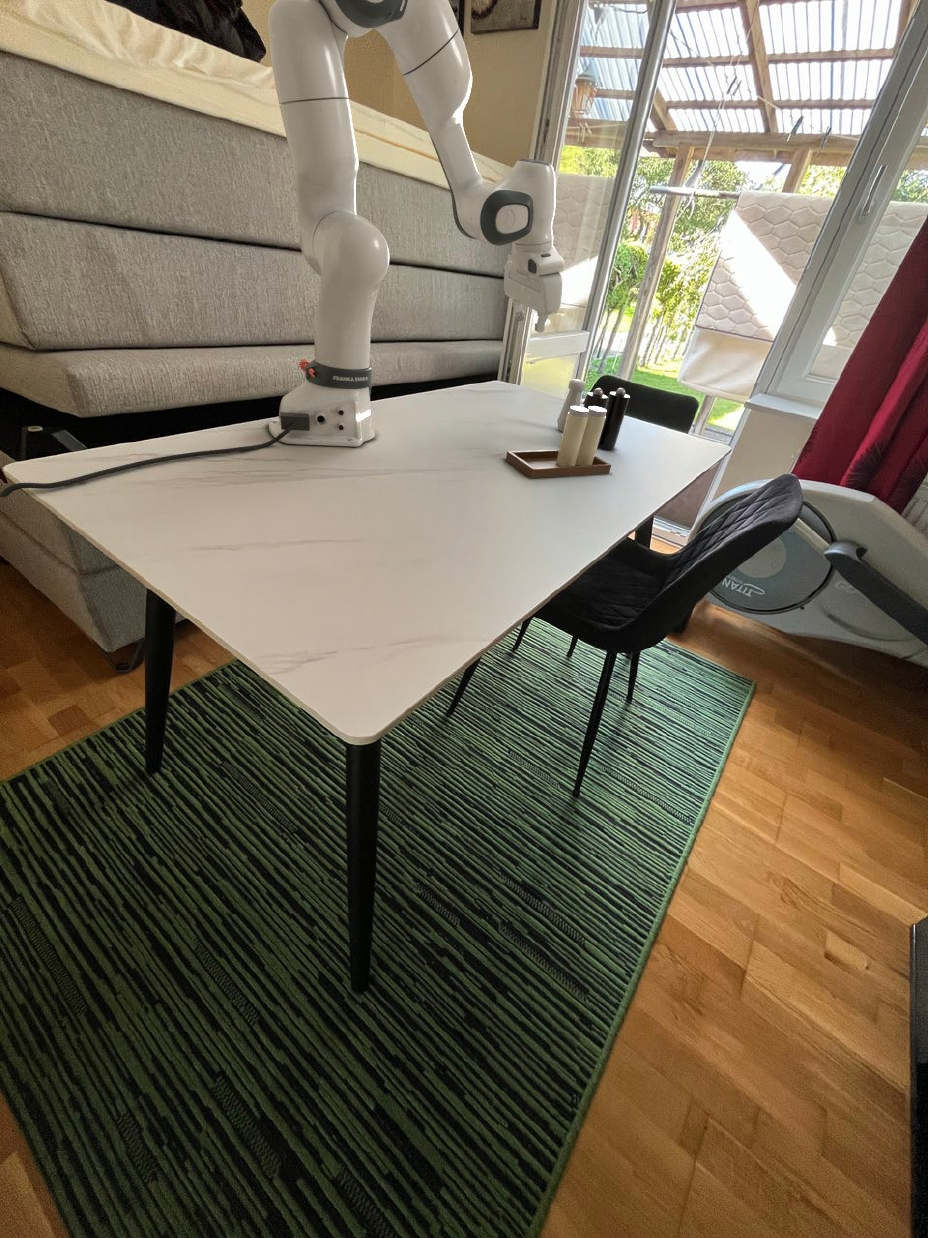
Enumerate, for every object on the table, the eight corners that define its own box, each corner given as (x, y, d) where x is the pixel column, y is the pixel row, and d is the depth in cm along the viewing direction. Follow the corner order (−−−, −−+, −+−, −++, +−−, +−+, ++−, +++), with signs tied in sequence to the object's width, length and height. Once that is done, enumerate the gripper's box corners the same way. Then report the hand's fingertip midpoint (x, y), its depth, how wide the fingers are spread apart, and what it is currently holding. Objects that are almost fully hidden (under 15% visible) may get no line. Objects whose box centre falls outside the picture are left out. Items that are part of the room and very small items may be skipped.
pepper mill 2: (603, 450, 131) (621, 390, 123) (590, 443, 135) (607, 384, 126) (617, 450, 133) (636, 391, 125) (605, 443, 137) (622, 385, 128)
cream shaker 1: (563, 468, 115) (577, 411, 107) (551, 461, 118) (565, 405, 110) (578, 467, 117) (594, 411, 109) (567, 460, 120) (581, 405, 112)
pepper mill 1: (580, 453, 127) (597, 391, 119) (568, 446, 130) (584, 385, 122) (596, 452, 129) (614, 391, 121) (584, 445, 133) (600, 385, 124)
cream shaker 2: (580, 467, 117) (596, 411, 110) (569, 460, 120) (583, 405, 113) (595, 466, 119) (611, 411, 112) (584, 459, 122) (599, 405, 115)
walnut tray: (530, 478, 108) (533, 469, 107) (505, 459, 115) (507, 451, 114) (608, 473, 118) (611, 465, 116) (580, 456, 125) (583, 448, 124)
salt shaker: (575, 429, 144) (588, 379, 136) (577, 435, 139) (590, 384, 132) (554, 426, 144) (566, 376, 136) (555, 431, 139) (568, 380, 132)
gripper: (497, 249, 119) (497, 316, 129) (543, 268, 106) (539, 340, 116) (521, 245, 120) (519, 311, 130) (569, 263, 107) (563, 335, 117)
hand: (529, 325), depth 123 cm, fingers open, 8 cm apart
